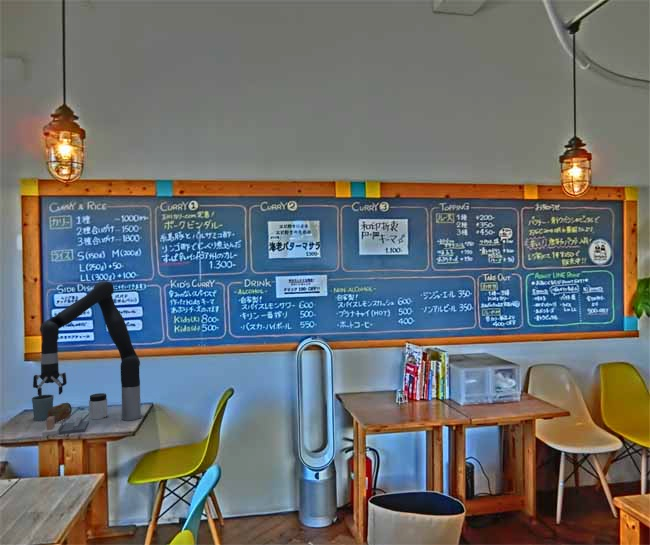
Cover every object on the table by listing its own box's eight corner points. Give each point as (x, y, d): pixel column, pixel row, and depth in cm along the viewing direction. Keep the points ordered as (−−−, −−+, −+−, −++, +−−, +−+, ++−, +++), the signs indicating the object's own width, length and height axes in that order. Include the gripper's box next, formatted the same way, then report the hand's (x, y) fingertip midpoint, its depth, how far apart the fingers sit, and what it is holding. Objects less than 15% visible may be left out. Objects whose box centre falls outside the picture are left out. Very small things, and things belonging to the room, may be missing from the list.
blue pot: (55, 415, 268) (55, 393, 268) (51, 420, 258) (51, 398, 258) (34, 417, 265) (34, 395, 265) (29, 422, 255) (29, 399, 255)
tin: (51, 424, 251) (51, 408, 251) (46, 424, 252) (46, 408, 252) (72, 416, 266) (72, 400, 266) (67, 416, 266) (67, 400, 266)
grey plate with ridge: (88, 423, 252) (88, 416, 252) (84, 432, 238) (84, 424, 238) (64, 425, 248) (64, 419, 248) (59, 434, 234) (59, 427, 234)
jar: (99, 419, 258) (99, 397, 258) (86, 419, 259) (85, 396, 259) (110, 415, 266) (110, 393, 267) (97, 414, 268) (96, 392, 268)
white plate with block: (63, 426, 247) (63, 413, 247) (58, 433, 235) (58, 420, 235) (47, 428, 244) (47, 415, 244) (42, 435, 233) (42, 421, 233)
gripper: (67, 359, 246) (67, 392, 245) (35, 362, 241) (35, 394, 241) (64, 362, 238) (64, 395, 238) (31, 364, 234) (31, 398, 234)
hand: (50, 395), depth 240 cm, fingers open, 8 cm apart
